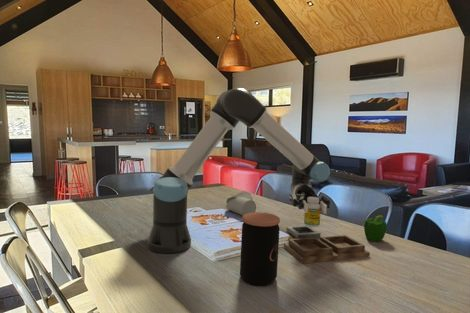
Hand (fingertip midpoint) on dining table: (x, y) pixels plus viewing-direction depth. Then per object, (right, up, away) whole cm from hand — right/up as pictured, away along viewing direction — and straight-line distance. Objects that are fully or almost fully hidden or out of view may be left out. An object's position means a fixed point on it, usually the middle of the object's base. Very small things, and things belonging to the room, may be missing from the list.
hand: (316, 209), depth 107 cm
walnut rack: (+6, -17, +9) cm, 20 cm away
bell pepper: (+29, -16, +24) cm, 41 cm away
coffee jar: (-20, -18, -13) cm, 30 cm away
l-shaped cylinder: (-23, -11, +58) cm, 64 cm away
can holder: (+1, -15, +26) cm, 30 cm away
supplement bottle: (0, -7, +6) cm, 9 cm away
